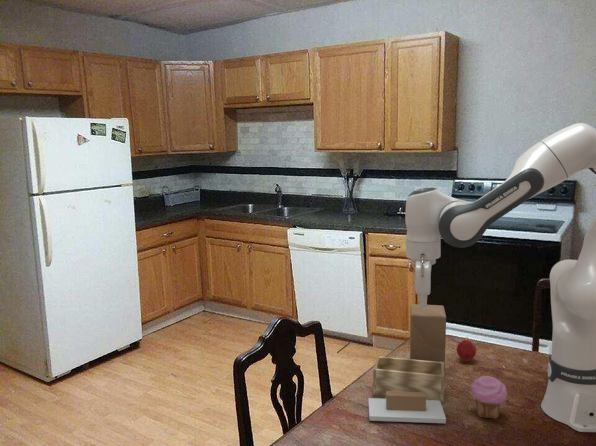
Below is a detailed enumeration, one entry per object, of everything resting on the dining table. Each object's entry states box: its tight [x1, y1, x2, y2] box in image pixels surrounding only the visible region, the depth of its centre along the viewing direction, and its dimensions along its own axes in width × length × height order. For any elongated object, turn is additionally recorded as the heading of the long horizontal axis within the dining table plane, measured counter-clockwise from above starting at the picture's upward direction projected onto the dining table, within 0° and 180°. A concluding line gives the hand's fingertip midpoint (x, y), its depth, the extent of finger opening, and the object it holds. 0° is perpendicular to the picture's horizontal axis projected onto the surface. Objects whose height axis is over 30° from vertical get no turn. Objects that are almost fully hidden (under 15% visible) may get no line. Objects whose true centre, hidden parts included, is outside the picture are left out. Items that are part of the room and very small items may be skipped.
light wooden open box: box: [372, 355, 445, 405], centre depth 143 cm, size 19×9×8 cm, turn 74°
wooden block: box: [409, 303, 447, 379], centre depth 155 cm, size 10×10×20 cm
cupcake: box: [469, 375, 508, 420], centre depth 131 cm, size 9×9×10 cm
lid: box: [368, 391, 447, 424], centre depth 132 cm, size 19×9×6 cm, turn 84°
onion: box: [456, 336, 477, 362], centre depth 162 cm, size 6×6×8 cm
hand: (423, 300), depth 135 cm, fingers open, 8 cm apart
